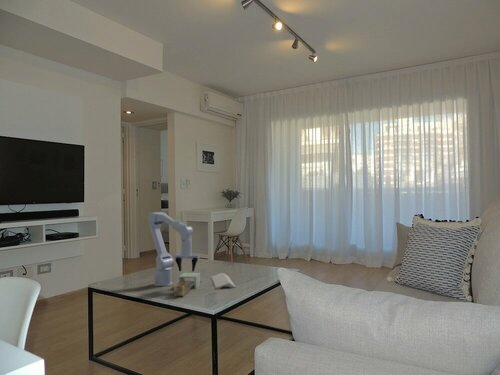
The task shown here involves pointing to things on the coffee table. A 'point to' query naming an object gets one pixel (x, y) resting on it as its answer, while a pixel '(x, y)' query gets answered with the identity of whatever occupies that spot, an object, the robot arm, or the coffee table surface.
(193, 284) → the rail
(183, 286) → the brown rectangular box
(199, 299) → the coffee table surface
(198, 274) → the tunnel
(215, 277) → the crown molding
